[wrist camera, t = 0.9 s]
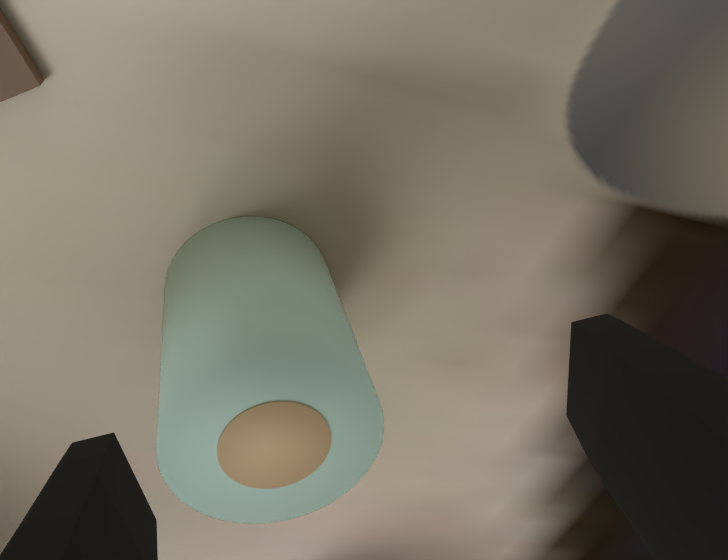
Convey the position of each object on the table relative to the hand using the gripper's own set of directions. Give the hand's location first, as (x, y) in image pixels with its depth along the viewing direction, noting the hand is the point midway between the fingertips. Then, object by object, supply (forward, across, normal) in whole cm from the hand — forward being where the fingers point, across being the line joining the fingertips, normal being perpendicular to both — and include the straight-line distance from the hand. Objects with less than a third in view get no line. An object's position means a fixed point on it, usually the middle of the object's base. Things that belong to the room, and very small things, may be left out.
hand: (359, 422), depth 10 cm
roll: (+10, +2, +4) cm, 11 cm away
